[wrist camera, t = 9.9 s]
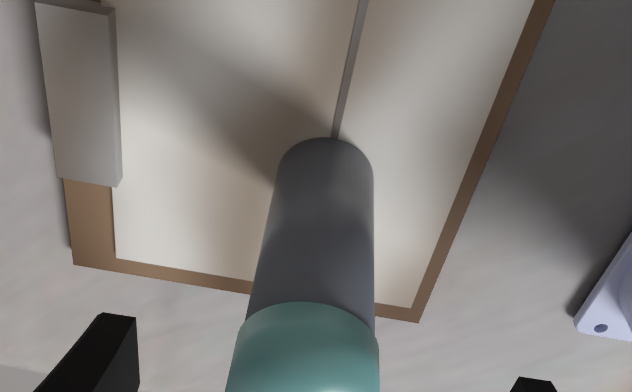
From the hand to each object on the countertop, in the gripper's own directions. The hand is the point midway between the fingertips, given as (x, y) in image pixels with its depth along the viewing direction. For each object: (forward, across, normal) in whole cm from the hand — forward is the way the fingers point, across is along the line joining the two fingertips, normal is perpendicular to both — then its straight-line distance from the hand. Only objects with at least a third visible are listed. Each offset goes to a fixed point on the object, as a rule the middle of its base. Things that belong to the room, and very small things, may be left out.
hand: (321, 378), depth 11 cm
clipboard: (+10, +2, 0) cm, 10 cm away
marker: (+9, 0, +2) cm, 9 cm away
